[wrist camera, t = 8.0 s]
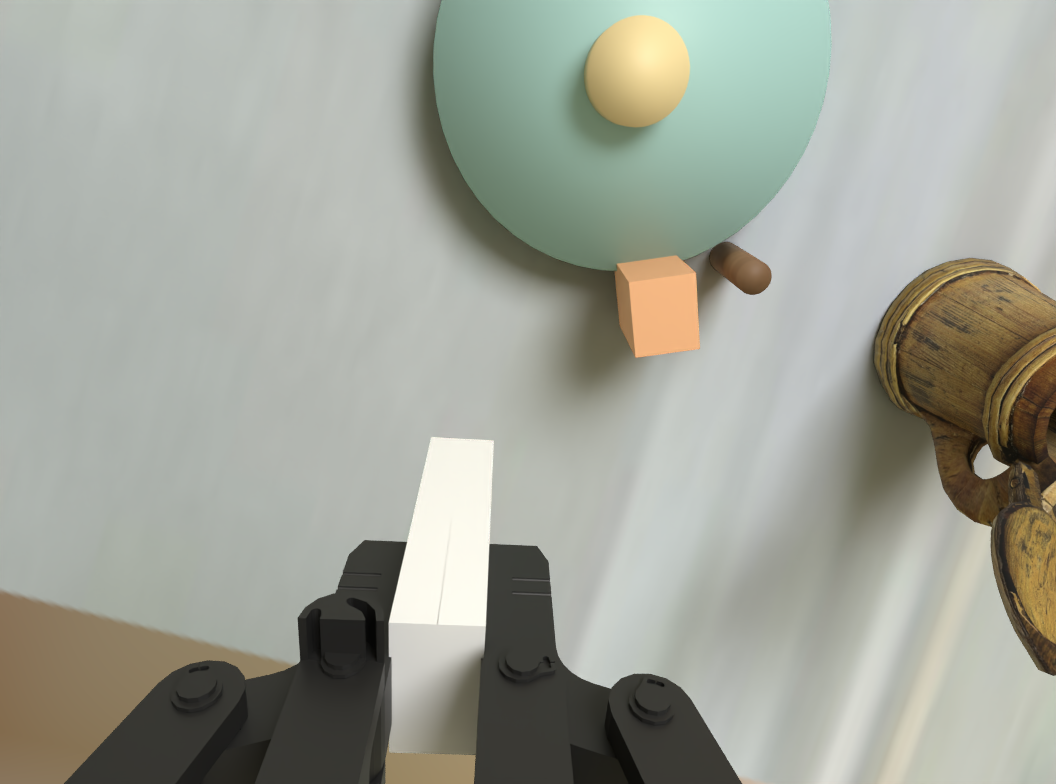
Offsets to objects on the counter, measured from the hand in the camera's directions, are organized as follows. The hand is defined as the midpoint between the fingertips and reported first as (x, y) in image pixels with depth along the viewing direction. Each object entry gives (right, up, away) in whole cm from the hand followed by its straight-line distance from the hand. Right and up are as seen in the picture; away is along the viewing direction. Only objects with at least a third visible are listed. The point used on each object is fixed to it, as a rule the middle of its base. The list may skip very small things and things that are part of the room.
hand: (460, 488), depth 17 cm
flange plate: (+7, +16, +16) cm, 24 cm away
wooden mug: (+24, +4, +23) cm, 34 cm away
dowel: (+12, +10, +21) cm, 26 cm away
